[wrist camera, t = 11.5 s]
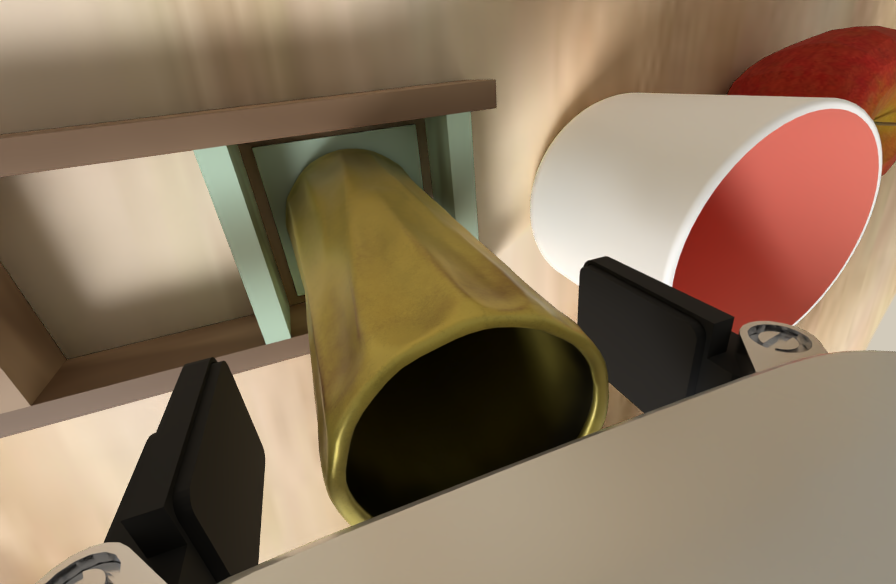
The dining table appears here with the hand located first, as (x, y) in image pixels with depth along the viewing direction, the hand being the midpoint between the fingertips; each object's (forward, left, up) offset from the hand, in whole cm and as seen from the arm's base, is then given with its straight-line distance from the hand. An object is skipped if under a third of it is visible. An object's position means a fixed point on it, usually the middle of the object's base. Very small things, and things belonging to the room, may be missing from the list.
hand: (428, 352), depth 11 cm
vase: (+1, 0, -11) cm, 11 cm away
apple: (-15, -18, -11) cm, 26 cm away
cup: (-10, -9, -11) cm, 17 cm away
